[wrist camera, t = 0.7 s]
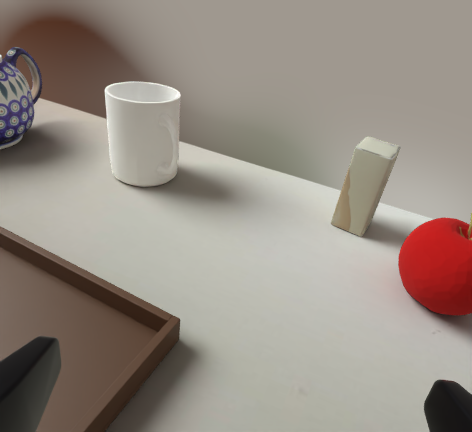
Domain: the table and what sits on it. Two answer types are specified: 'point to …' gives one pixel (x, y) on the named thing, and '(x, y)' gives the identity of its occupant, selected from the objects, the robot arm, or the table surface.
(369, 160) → the box
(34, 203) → the table surface
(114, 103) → the mug
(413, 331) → the table surface
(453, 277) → the fruit
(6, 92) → the teapot
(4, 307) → the tray
